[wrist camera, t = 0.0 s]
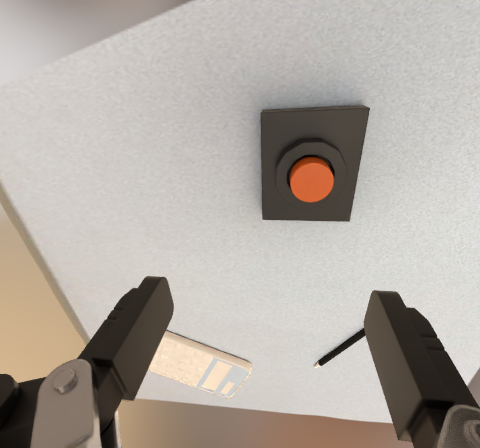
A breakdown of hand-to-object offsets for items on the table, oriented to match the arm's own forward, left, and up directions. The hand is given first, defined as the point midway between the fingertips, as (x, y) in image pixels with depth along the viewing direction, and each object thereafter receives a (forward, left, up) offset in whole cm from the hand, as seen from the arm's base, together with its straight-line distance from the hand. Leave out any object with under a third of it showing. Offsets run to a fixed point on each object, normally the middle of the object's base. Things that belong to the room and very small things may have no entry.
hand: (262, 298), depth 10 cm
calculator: (+42, -15, -22) cm, 50 cm away
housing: (+1, +4, -22) cm, 22 cm away
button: (+1, +4, -18) cm, 19 cm away
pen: (+31, +13, -22) cm, 40 cm away
